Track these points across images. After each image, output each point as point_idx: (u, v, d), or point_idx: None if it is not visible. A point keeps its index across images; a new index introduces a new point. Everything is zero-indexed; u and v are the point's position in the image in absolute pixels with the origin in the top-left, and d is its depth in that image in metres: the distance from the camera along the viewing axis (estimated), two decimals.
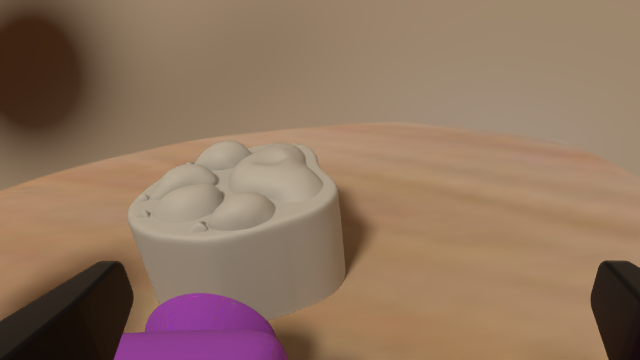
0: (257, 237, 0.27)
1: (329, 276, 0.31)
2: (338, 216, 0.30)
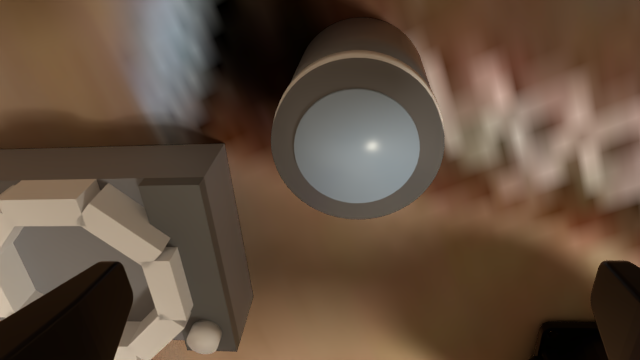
0: None
1: None
2: None
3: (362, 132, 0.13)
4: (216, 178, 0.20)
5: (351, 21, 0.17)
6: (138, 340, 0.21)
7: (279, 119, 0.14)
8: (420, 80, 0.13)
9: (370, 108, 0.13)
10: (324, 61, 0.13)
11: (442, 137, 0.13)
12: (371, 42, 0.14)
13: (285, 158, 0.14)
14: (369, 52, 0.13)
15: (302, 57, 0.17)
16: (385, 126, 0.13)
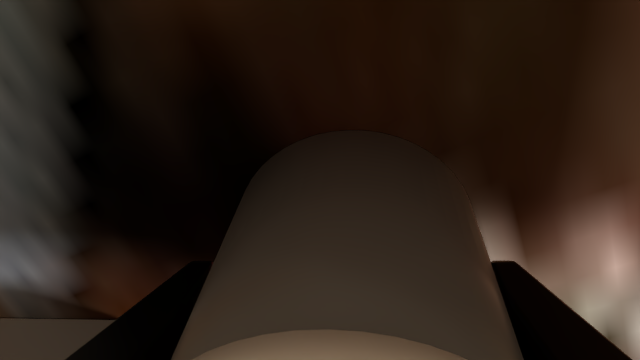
0: None
1: None
2: None
3: None
4: None
5: (334, 145, 0.08)
6: None
7: None
8: None
9: None
10: None
11: None
12: (377, 258, 0.06)
13: None
14: (373, 346, 0.04)
15: (233, 219, 0.08)
16: None
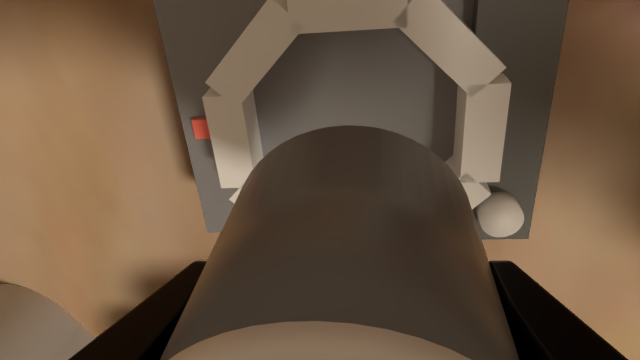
0: None
1: (27, 318, 0.24)
2: None
3: None
4: None
5: (331, 140, 0.08)
6: None
7: None
8: None
9: None
10: None
11: None
12: (370, 251, 0.06)
13: None
14: (362, 338, 0.04)
15: (230, 214, 0.08)
16: None
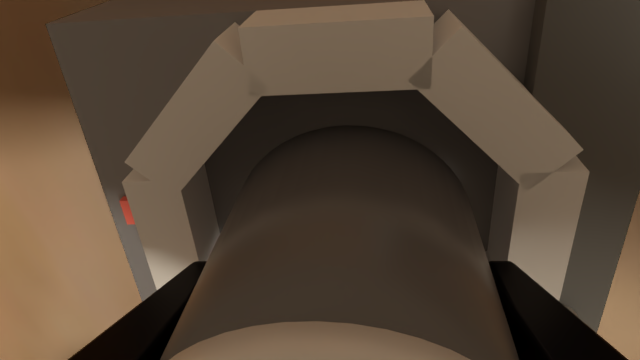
0: None
1: None
2: None
3: None
4: None
5: (331, 140, 0.08)
6: None
7: None
8: None
9: None
10: None
11: None
12: (370, 251, 0.06)
13: None
14: (362, 338, 0.04)
15: (230, 214, 0.08)
16: None
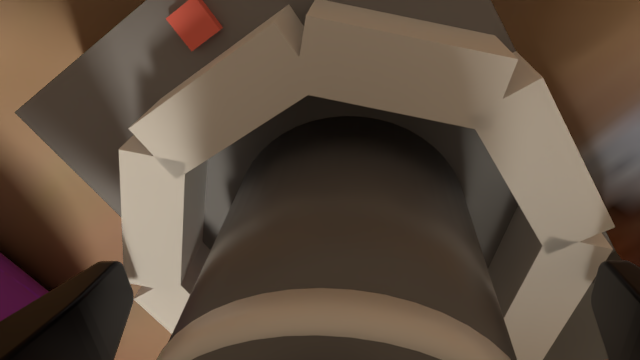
0: None
1: None
2: None
3: None
4: None
5: (330, 129, 0.09)
6: None
7: None
8: None
9: None
10: (238, 334, 0.05)
11: None
12: (368, 228, 0.06)
13: None
14: (362, 302, 0.05)
15: (234, 200, 0.09)
16: None
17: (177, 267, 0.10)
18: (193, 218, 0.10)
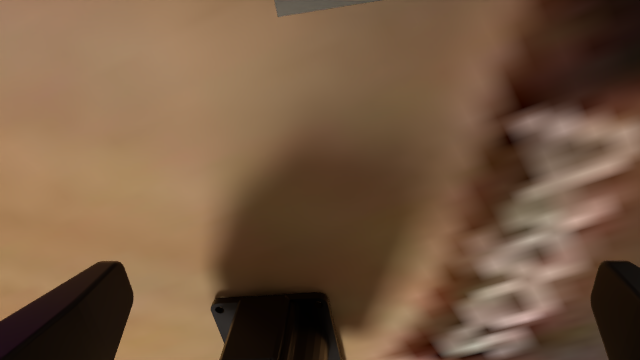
0: None
1: None
2: None
3: None
4: None
5: None
6: None
7: None
8: None
9: None
10: None
11: None
12: None
13: None
14: None
15: None
16: None
17: None
18: None
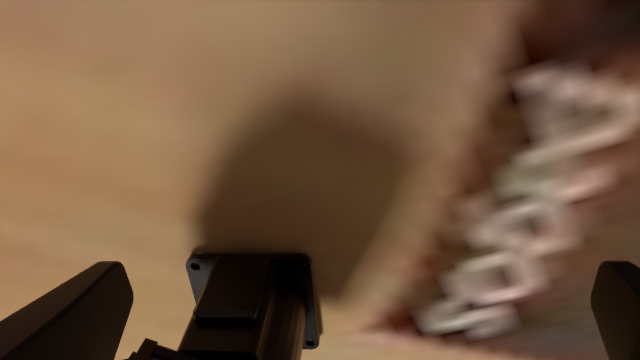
0: None
1: None
2: None
3: None
4: None
5: None
6: None
7: None
8: None
9: None
10: None
11: None
12: None
13: None
14: None
15: None
16: None
17: None
18: None
